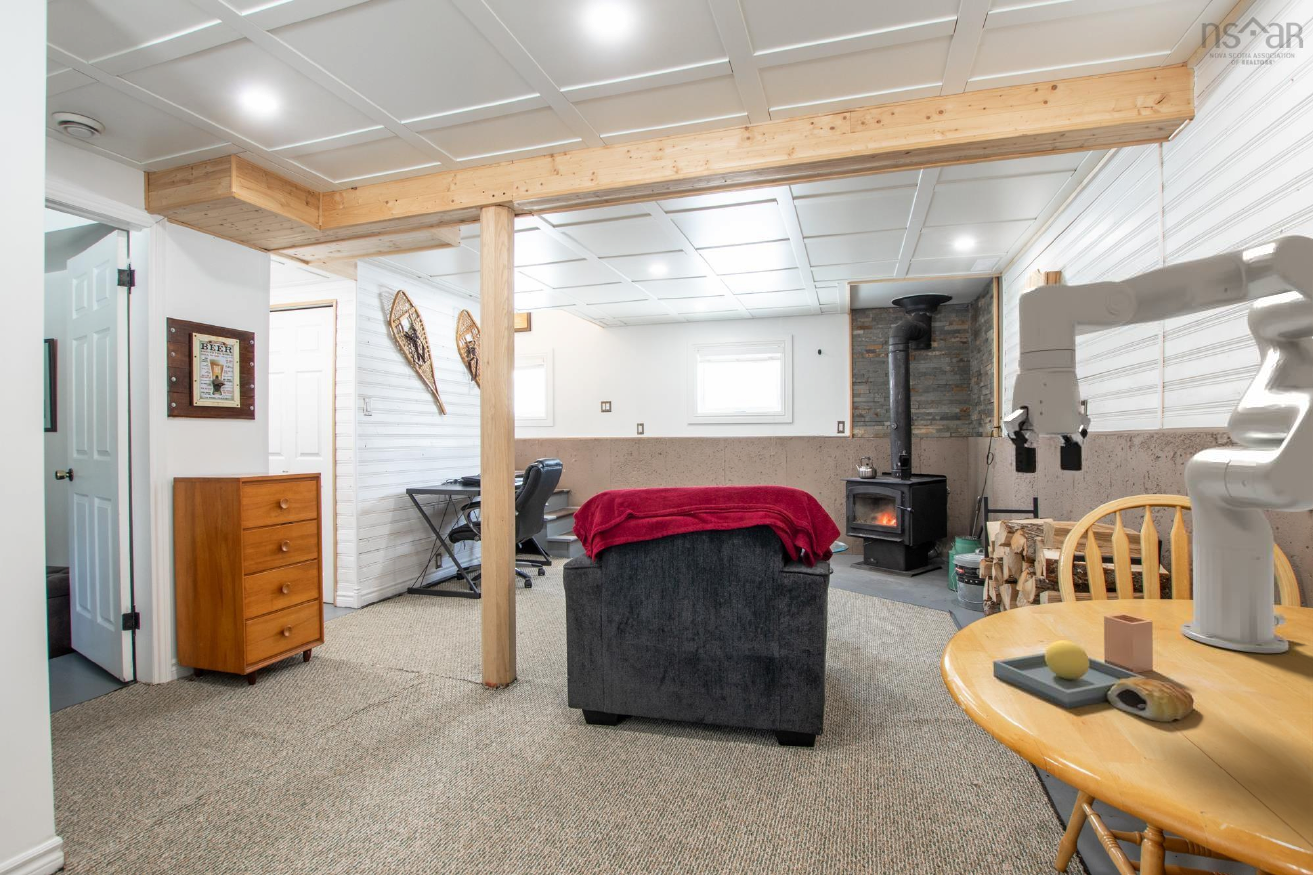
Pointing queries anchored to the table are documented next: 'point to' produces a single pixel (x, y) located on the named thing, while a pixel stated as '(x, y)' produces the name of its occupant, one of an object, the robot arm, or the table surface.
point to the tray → (1061, 680)
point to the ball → (1067, 659)
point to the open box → (1128, 642)
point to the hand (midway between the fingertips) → (1048, 471)
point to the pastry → (1151, 699)
